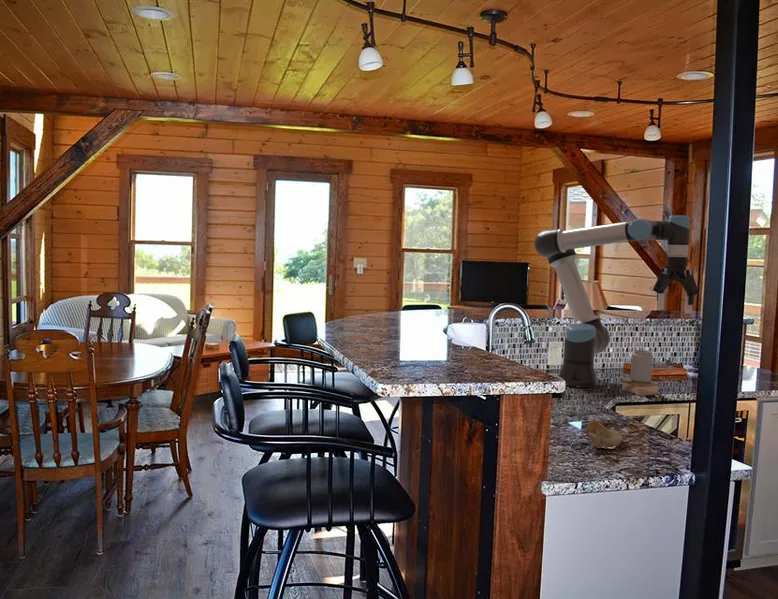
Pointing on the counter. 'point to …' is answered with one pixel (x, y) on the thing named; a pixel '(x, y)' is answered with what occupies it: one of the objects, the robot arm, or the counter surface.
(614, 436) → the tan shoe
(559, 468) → the counter surface
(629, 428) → the counter surface
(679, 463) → the counter surface
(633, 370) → the can
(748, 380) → the counter surface
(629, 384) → the pedestal
